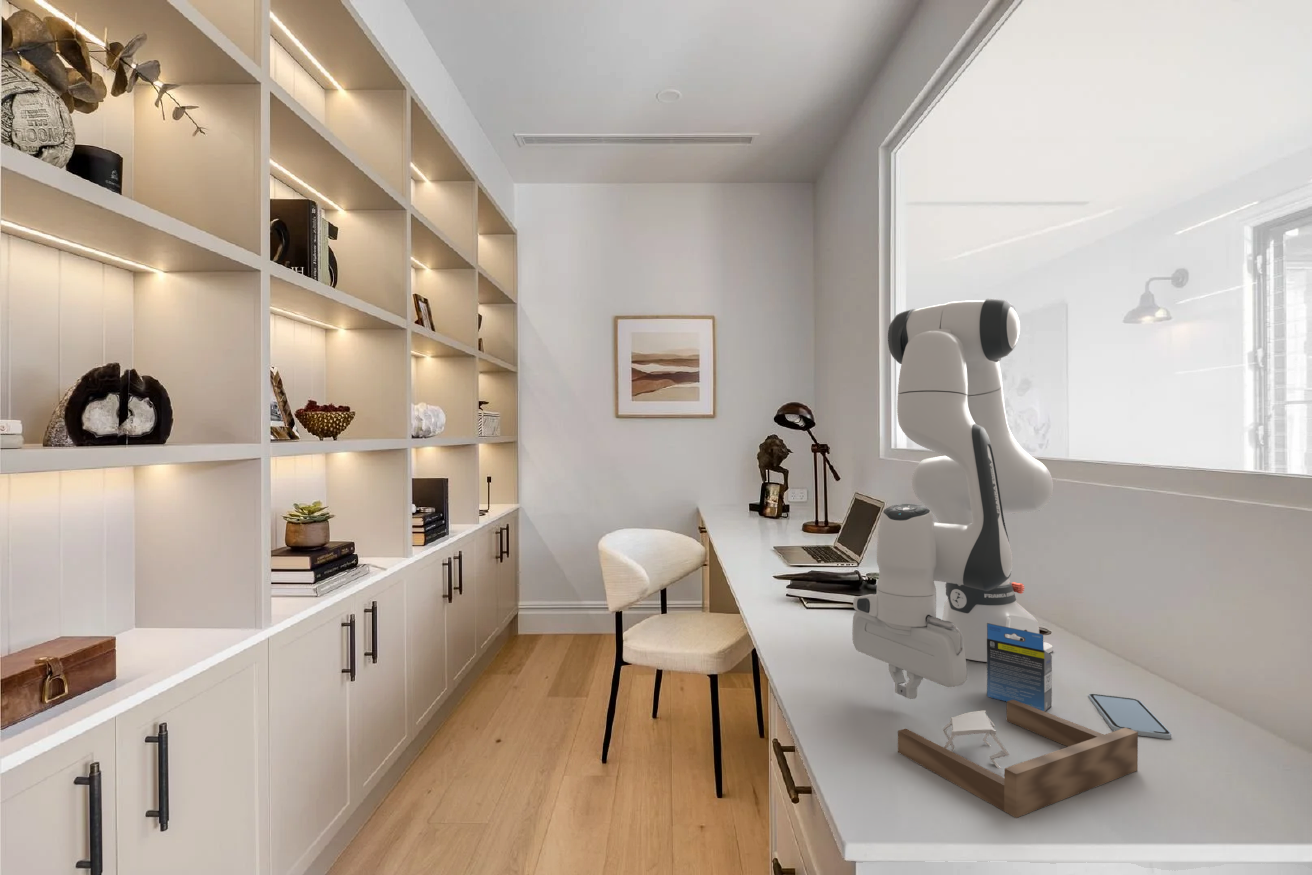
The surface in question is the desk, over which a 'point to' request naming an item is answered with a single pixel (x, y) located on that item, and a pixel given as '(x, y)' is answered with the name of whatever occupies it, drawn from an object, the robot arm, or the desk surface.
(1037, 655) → the label tape cartridge
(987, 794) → the walnut bay
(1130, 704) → the smartphone
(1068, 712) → the desk surface
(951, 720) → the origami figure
